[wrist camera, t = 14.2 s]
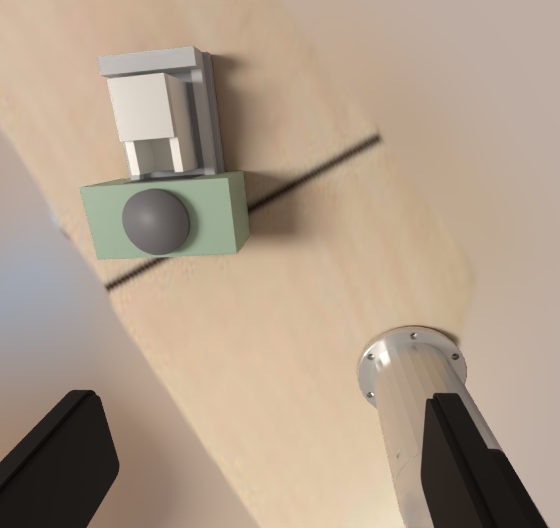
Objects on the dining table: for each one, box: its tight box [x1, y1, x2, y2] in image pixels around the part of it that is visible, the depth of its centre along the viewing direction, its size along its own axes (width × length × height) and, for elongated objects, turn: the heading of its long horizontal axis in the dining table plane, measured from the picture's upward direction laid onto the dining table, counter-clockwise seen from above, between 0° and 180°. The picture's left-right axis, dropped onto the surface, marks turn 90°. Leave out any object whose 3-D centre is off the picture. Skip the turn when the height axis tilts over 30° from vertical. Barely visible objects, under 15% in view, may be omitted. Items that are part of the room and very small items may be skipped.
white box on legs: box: [107, 73, 198, 175], centre depth 33 cm, size 8×5×5 cm, turn 4°
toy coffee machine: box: [80, 46, 250, 260], centre depth 34 cm, size 18×14×8 cm
